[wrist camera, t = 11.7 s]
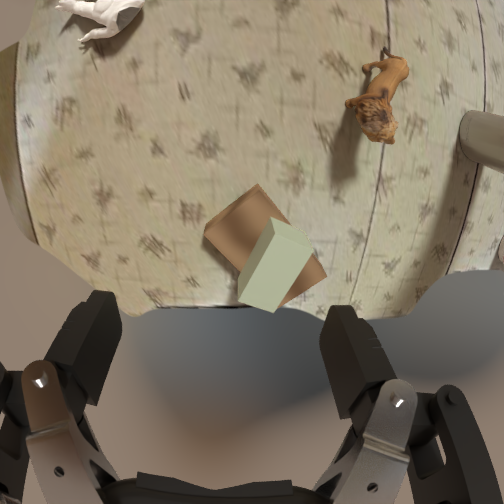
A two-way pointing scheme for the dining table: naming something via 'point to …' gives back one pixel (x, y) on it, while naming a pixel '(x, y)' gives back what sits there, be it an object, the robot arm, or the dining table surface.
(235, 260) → the walnut brick
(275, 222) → the sage brick
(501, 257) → the fruit juice
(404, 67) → the lion figurine
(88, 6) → the toy creature
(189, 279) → the dining table surface
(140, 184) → the dining table surface
